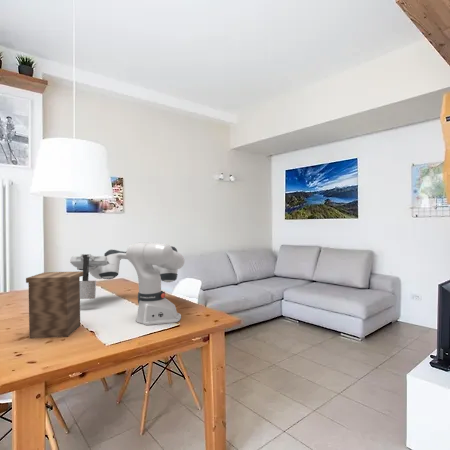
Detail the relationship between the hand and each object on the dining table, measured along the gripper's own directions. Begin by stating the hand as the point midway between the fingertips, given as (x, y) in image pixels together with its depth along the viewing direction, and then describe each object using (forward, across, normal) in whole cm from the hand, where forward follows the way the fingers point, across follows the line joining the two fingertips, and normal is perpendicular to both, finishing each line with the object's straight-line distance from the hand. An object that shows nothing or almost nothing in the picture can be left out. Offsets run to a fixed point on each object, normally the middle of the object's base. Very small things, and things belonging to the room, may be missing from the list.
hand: (85, 255), depth 179 cm
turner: (-7, 0, -10) cm, 12 cm away
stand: (+16, 0, -45) cm, 47 cm away
